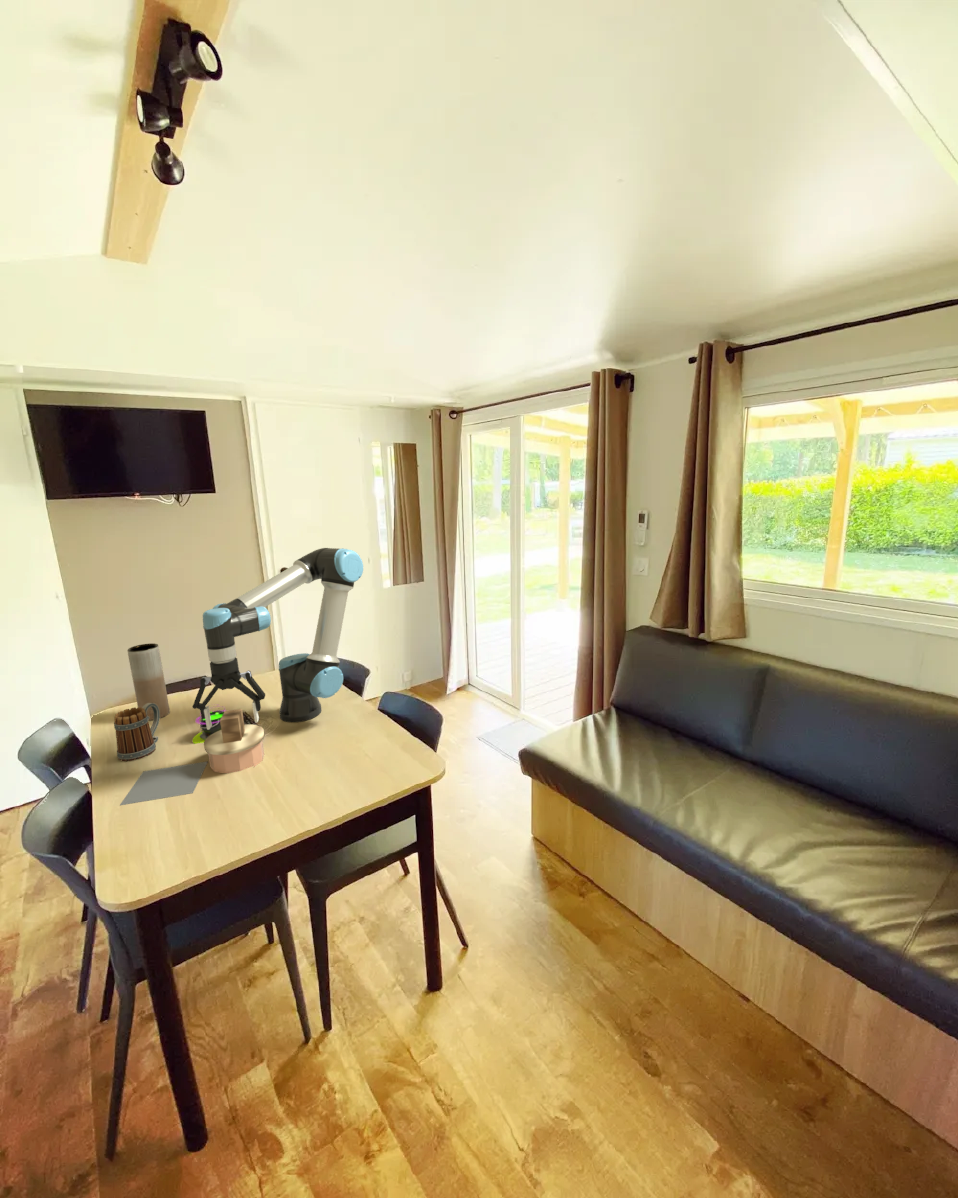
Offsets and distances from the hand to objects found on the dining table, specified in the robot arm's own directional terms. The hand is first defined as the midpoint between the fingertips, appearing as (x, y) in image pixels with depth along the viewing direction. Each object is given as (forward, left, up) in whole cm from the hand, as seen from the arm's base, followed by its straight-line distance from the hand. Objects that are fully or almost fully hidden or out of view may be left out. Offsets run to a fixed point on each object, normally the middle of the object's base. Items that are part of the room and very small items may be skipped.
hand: (233, 724), depth 157 cm
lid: (0, 0, -6) cm, 6 cm away
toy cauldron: (+11, -22, -13) cm, 28 cm away
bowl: (0, 0, -13) cm, 13 cm away
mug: (+32, -18, -13) cm, 39 cm away
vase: (+38, -49, -13) cm, 63 cm away
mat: (+18, +7, -13) cm, 23 cm away
